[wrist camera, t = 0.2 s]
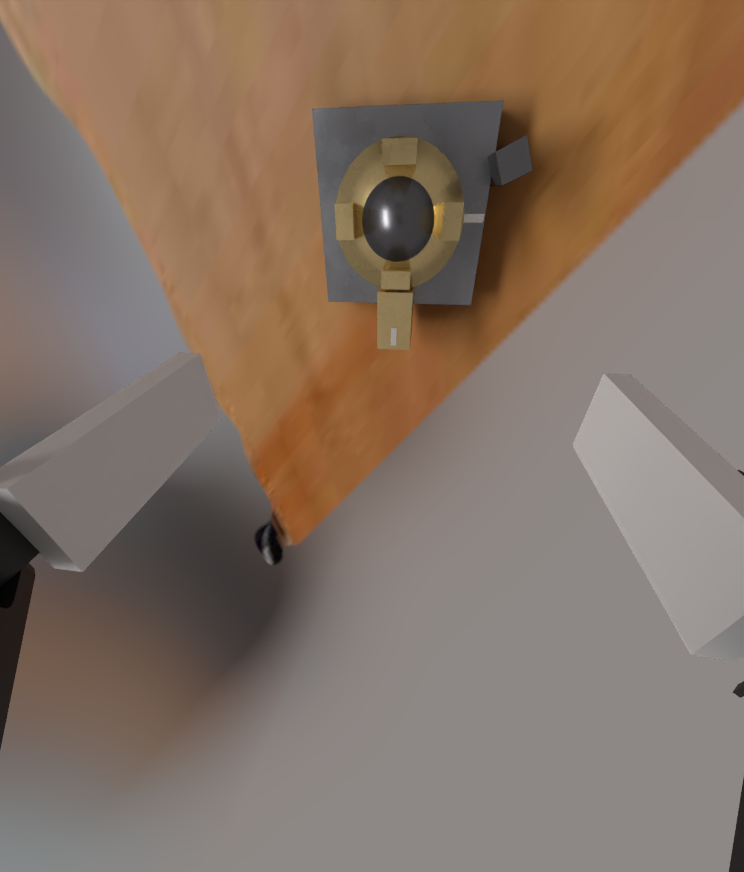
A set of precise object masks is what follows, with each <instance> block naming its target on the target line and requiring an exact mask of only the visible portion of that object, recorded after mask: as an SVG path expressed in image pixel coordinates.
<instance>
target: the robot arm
mask: <svg viewBox="0 0 744 872" xmlns="http://www.w3.org/2000/svg"><path fill="white" fill-rule="evenodd" d="M221 420H222V419H221V416H220V413H219V410H218V407H217V404H216V401H215V398H214V395H213V391H212V388H211V385H210V382H209V379H208V376H207V373H206V370H205V367H204V364H203V361H202V358H201V355H200V353H178V354H177V355H175V356H174V357H172V358H171V359H169V360H167V361H166V362H164V363H163V364H161V365H160V366H158V367H156V368H155V369H153V370H152V371H150V372H149V373H147V374H145V375H144V376H143V377H141V378H139V379H138V380H136V381H135V382H133V383H132V384H130V385H128V386H127V387H125V388H124V389H122V390H121V391H119V392H117V393H116V394H114V395H113V396H111V397H110V398H108V399H106V400H105V401H103V402H102V403H100V404H99V405H97V406H96V407H94V408H92V409H91V410H89V411H88V412H86V413H85V414H83V415H81V416H80V417H78V418H77V419H75V420H74V421H72V422H71V423H69V424H67V425H66V426H64V427H63V428H61V429H60V430H58V431H56V432H55V433H53V434H52V435H50V436H49V437H47V438H46V439H44V440H42V441H41V442H39V443H38V444H36V445H35V446H33V447H31V448H30V449H28V450H27V451H25V452H24V453H22V454H21V455H19V456H17V457H16V458H14V459H13V460H11V461H10V462H8V463H7V464H5V465H3V466H2V467H0V748H1V743H2V738H3V733H4V728H5V723H6V718H7V713H8V708H9V703H10V699H11V694H12V689H13V683H14V679H15V673H16V669H17V663H18V659H19V654H20V649H21V644H22V639H23V634H24V629H25V624H26V619H27V614H28V609H29V604H30V599H31V594H32V589H33V584H34V579H35V570H34V568H33V567H32V566H31V565H30V564H29V562H30V561H31V560H32V559H33V558H34V557H35V556H36V555H37V554H38V553H40V554H41V555H42V556H43V557H44V558H45V559H46V560H47V561H48V562H49V563H50V564H51V565H52V566H53V567H54V568H57V569H65V570H72V571H79V572H83V571H84V570H85V569H86V568H87V566H88V565H89V564H90V563H91V562H92V561H93V560H94V559H95V558H96V557H97V556H98V555H99V553H100V552H101V551H102V550H103V549H104V548H105V547H106V546H107V545H108V543H110V541H111V540H112V539H113V538H114V537H115V536H116V535H117V534H118V533H119V532H120V531H121V529H122V528H123V527H124V526H125V525H126V524H127V523H128V522H129V520H131V518H132V517H133V516H134V515H135V514H136V513H137V512H138V511H139V510H140V509H141V508H142V506H143V505H144V504H145V503H146V502H147V501H148V500H149V499H150V498H151V497H152V495H153V494H154V493H155V492H156V491H157V490H158V489H159V488H160V487H161V486H162V485H163V483H164V482H165V481H166V480H167V479H168V478H169V477H170V476H171V475H172V474H173V473H174V471H175V470H176V469H177V468H178V467H179V466H180V465H181V464H182V462H184V461H185V459H186V458H187V457H188V456H189V455H190V454H191V453H192V452H193V451H194V450H195V448H196V447H197V446H198V445H199V444H200V443H201V442H202V441H203V440H204V439H205V437H206V436H207V435H208V434H209V433H210V432H211V431H212V430H213V429H214V428H215V427H216V425H217V424H218V423H219V422H220V421H221ZM572 446H573V447H574V449H575V451H576V453H577V454H578V456H579V458H580V460H581V462H582V463H583V465H584V467H585V469H586V470H587V472H588V474H589V476H590V477H591V479H592V481H593V483H594V485H595V486H596V488H597V490H598V492H599V493H600V495H601V497H602V499H603V501H604V502H605V504H606V506H607V508H608V509H609V511H610V513H611V515H612V516H613V518H614V520H615V522H616V524H617V525H618V527H619V529H620V531H621V532H622V534H623V536H624V537H625V539H626V541H627V543H628V545H629V547H630V548H631V550H632V552H633V554H634V555H635V557H636V559H637V561H638V562H639V564H640V566H641V568H642V569H643V571H644V573H645V575H646V576H647V578H648V580H649V582H650V583H651V585H652V587H653V589H654V591H655V592H656V594H657V596H658V598H659V600H660V601H661V603H662V605H663V607H664V608H665V610H666V612H667V614H668V615H669V617H670V619H671V621H672V623H673V624H674V626H675V628H676V630H677V631H678V633H679V635H680V637H681V638H682V640H683V642H684V644H685V646H686V647H687V649H688V650H689V652H690V654H691V655H692V656H699V657H707V658H714V659H721V660H729V661H737V660H739V659H740V658H742V657H743V656H744V472H742V471H740V470H736V469H735V468H734V467H733V466H732V465H731V464H730V463H729V462H727V461H726V460H725V459H724V458H723V457H722V456H721V455H720V454H719V453H717V452H716V451H715V450H714V449H713V448H712V447H711V446H710V445H709V444H707V443H706V442H705V441H704V440H703V439H702V438H701V437H700V436H698V435H697V434H696V433H695V432H694V431H693V430H692V429H691V428H690V427H688V425H686V424H685V423H684V422H683V421H682V420H681V419H680V418H679V417H677V416H676V415H675V414H674V413H673V412H672V411H671V410H670V409H669V408H668V407H666V406H665V405H664V404H663V403H662V402H661V401H660V400H659V399H658V398H656V397H655V396H654V395H653V394H652V393H651V392H650V391H649V390H648V389H646V388H645V387H644V386H643V385H642V384H641V383H640V382H639V381H638V380H637V379H635V378H634V377H633V376H632V375H625V374H605V373H604V375H603V377H602V379H601V381H600V383H599V386H598V388H597V390H596V393H595V395H594V397H593V400H592V402H591V404H590V406H589V409H588V411H587V413H586V416H585V418H584V420H583V422H582V425H581V427H580V429H579V432H578V434H577V436H576V438H575V441H574V443H573V445H572ZM733 693H735V694H736V695H737V696H739V697H743V696H744V682H742V683H740V684H738V685H737V687H736V688H735V690H734V691H733ZM729 872H744V779H743V786H742V792H741V798H740V805H739V811H738V817H737V824H736V830H735V836H734V843H733V850H732V856H731V862H730V868H729Z"/></svg>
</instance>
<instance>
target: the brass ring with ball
mask: <svg viewBox="0 0 744 872" xmlns="http://www.w3.org/2000/svg"><path fill="white" fill-rule="evenodd" d="M334 207H335V224H336V239H337V240H339V243H340V246H341V249H342V251H343V253H344V255H345V257H346V259H347V260H348V262H349V263H350V265H351V266H352V267H353V269H354V270H355V271H356V272H357V273H358V274H359V275H360V276H361V277H363V278H364V279H365V280H367V281H368V282H370V283H372V284H374V285H376V286H379V287H380V288H379V290H378V292H377V349H398V350H410V342H411V333H412V316H413V300H414V287H415V286H418V285H420V284H422V283H425V282H426V281H428V280H429V279H431V278H432V277H434V276H435V275H436V274H437V273H438V272H439V271H440V270H441V269H442V268H443V267H444V266H445V265H446V263H447V262H448V261H449V259H450V258H451V256H452V254H453V252H454V251H455V249H456V246H457V244H458V242H459V239H460V235H461V232H462V227H463V222H464V198H463V192H462V188H461V184H460V181H459V178H458V176H457V174H456V171H455V169H454V168H453V166H452V164H451V163H450V161H449V160H448V159H447V158H446V156H445V155H444V154H443V153H442V152H441V151H440V150H439V149H438V148H436V147H435V146H433V145H432V144H430V143H429V142H427V141H424V140H422V139H420V138H417V137H412V136H392V137H388V138H384V139H382V140H380V141H378V142H376V143H373V144H372V145H370V146H369V147H368V148H366V149H365V150H364V151H363V152H362V153H360V154H359V155H358V156H357V158H356V159H355V160H354V161H353V162H352V164H351V165H350V167H349V168H348V170H347V172H346V173H345V175H344V178H343V180H342V182H341V185H340V188H339V191H338V195H337V200H336V203H335V204H334Z"/></svg>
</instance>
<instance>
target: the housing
mask: <svg viewBox="0 0 744 872" xmlns="http://www.w3.org/2000/svg"><path fill="white" fill-rule="evenodd" d="M503 101H504V100H502V101H479V102H456V103H433V104H410V105H387V106H363V107H340V108H317V109H312V112H313V124H314V135H315V147H316V159H317V171H318V183H319V195H320V206H321V218H322V230H323V242H324V254H325V265H326V277H327V289H328V301H330V302H368V303H377V292H378V290H379V288H380V287H379V286H376V285H374V284H372V283H370V282H368V281H367V280H365V279H364V278H363V277H361V276H360V275H359V274H358V273H357V272H356V271H355V270H354V269H353V267H352V266H351V265H350V263H349V262H348V260H347V259H346V257H345V255H344V253H343V251H342V249H341V246H340V243H339V240H337V239H336V224H335V207H334V204H335V203H336V200H337V195H338V191H339V188H340V185H341V182H342V180H343V178H344V175H345V173H346V172H347V170H348V168H349V167H350V165H351V164H352V162H353V161H354V160H355V159H356V158H357V156H358V155H359V154H360V153H362V152H363V151H364V150H365V149H366V148H368V147H369V146H370V145H372V144H373V143H376V142H378V141H380V140H382V139H384V138H388V137H392V136H412V137H417V138H420V139H422V140H424V141H427V142H429V143H430V144H432V145H433V146H435V147H436V148H438V149H439V150H440V151H441V152H442V153H443V154H444V155H445V156H446V158H447V159H448V160H449V161H450V163H451V164H452V166H453V168H454V169H455V171H456V174H457V176H458V178H459V181H460V184H461V188H462V192H463V198H464V222H463V227H462V232H461V235H460V239H459V242H458V244H457V246H456V249H455V251H454V252H453V254H452V256H451V258H450V259H449V261H448V262H447V263H446V265H445V266H444V267H443V268H442V269H441V270H440V271H439V272H438V273H437V274H436V275H435V276H434V277H432V278H431V279H429V280H428V281H426V282H425V283H422V284H420V285H418V286H415V287H414V300H413V304H443V305H471V302H472V296H473V290H474V283H475V277H476V271H477V264H478V258H479V252H480V246H481V239H482V233H483V227H484V221H485V214H486V208H487V202H488V195H489V189H490V186H502V185H504V184H506V183H508V182H510V181H512V180H514V179H516V178H518V177H520V176H522V175H524V174H526V173H528V172H530V171H532V170H533V169H532V163H531V156H530V149H529V143H528V136H527V135H526V136H524V137H522V138H520V139H518V140H516V141H514V142H513V143H511V144H509V145H507V146H505V147H503V148H502V149H500V150H498V151H496V145H497V139H498V133H499V127H500V120H501V114H502V108H503Z"/></svg>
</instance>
